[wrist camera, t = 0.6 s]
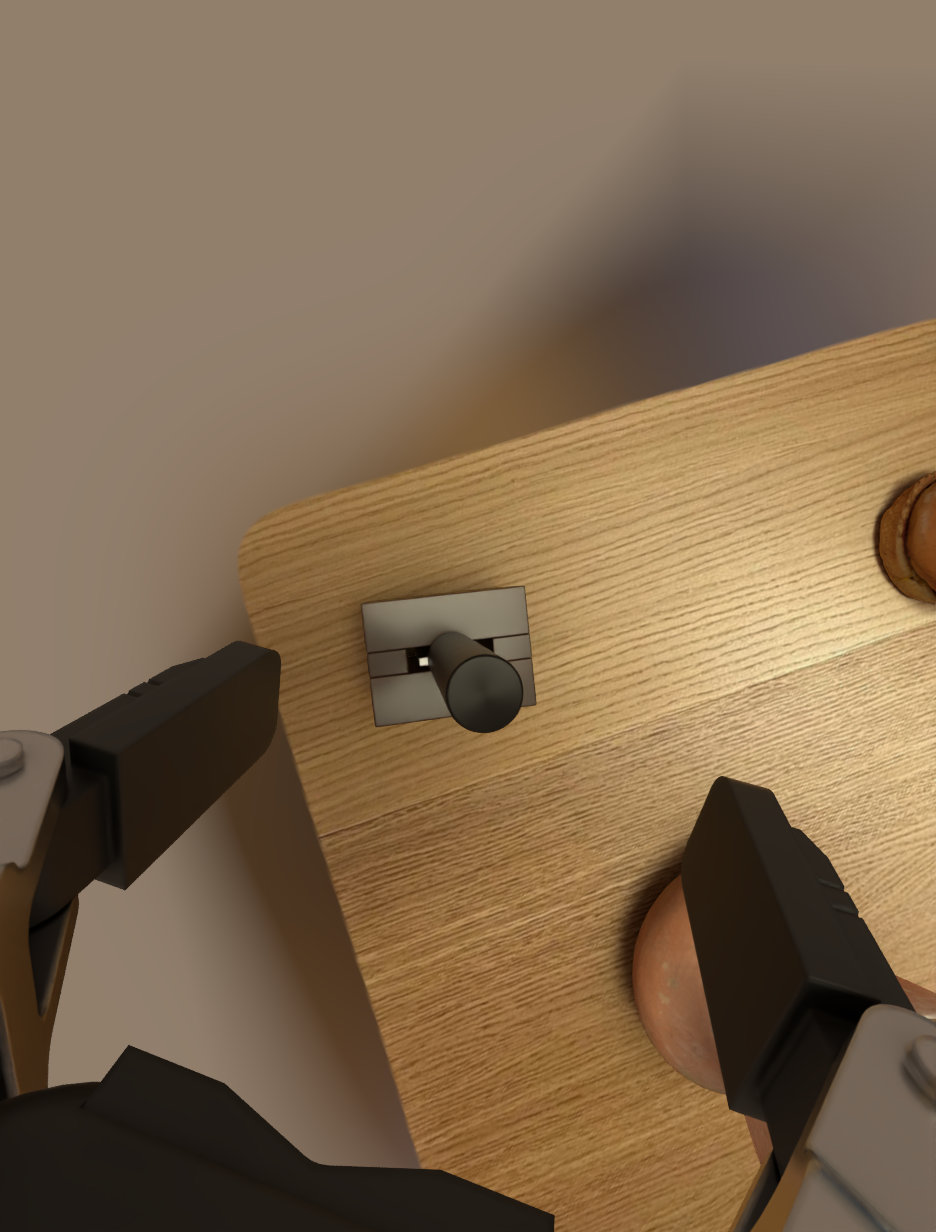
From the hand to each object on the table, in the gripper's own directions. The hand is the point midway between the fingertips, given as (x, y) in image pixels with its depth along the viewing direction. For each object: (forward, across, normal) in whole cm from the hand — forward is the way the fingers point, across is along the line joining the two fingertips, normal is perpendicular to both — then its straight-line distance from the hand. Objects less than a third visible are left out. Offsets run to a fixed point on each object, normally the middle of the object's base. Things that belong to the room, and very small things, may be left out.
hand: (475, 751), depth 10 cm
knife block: (+21, +5, +8) cm, 23 cm away
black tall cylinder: (+21, +5, +8) cm, 23 cm away
